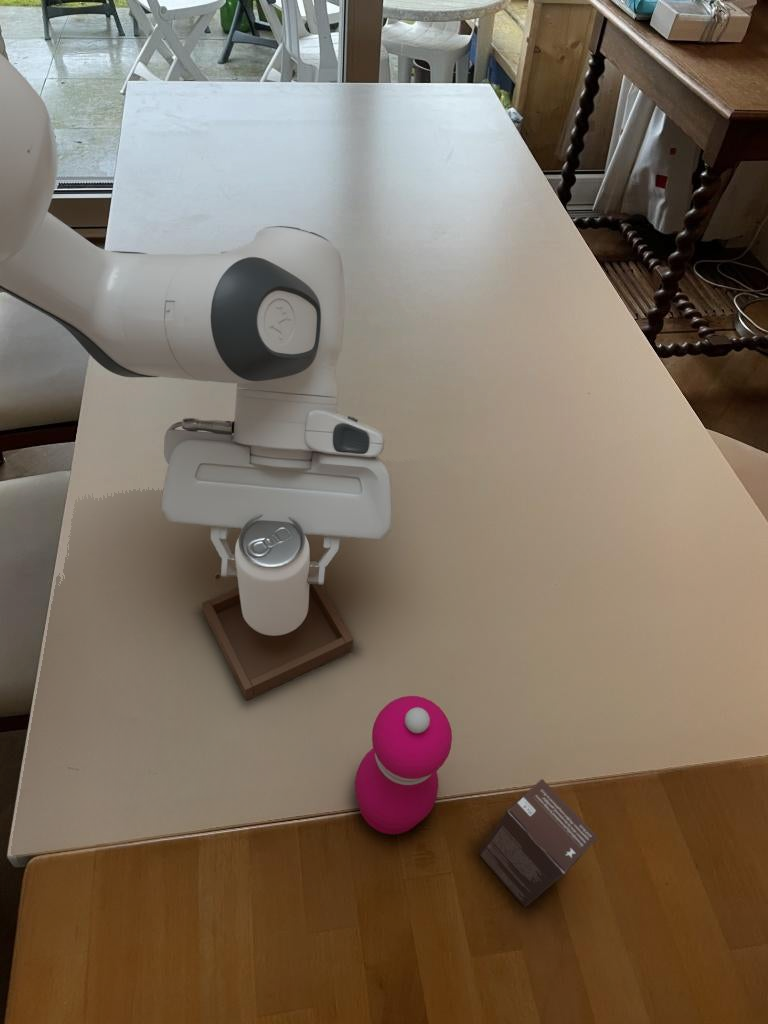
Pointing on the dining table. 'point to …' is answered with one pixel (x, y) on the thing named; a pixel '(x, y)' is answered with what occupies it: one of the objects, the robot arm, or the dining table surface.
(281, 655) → the tray
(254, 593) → the can
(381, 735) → the pepper mill
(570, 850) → the box
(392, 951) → the dining table surface
